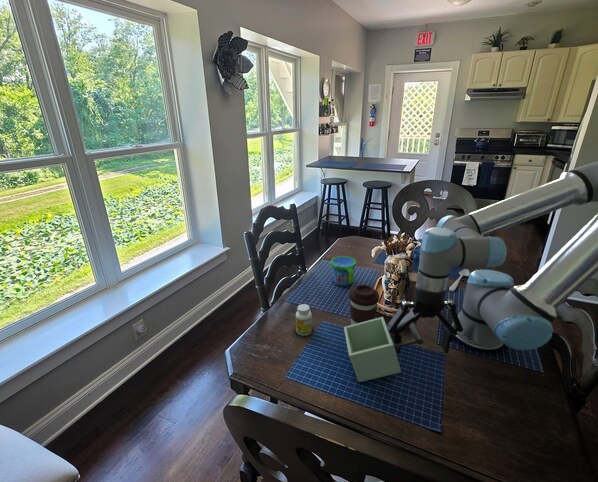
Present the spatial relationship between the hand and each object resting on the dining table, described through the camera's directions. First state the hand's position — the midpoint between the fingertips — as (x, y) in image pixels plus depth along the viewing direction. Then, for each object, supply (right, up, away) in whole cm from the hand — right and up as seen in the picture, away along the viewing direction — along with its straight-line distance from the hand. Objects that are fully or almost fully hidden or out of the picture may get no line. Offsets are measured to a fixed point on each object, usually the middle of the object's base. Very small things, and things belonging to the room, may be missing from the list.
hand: (420, 350), depth 92 cm
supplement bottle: (-33, 0, +18) cm, 38 cm away
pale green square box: (-9, -3, +1) cm, 9 cm away
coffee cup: (-13, +1, +19) cm, 23 cm away
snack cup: (-16, +13, +47) cm, 51 cm away
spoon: (+34, +14, +46) cm, 59 cm away
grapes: (+25, +21, +65) cm, 73 cm away
